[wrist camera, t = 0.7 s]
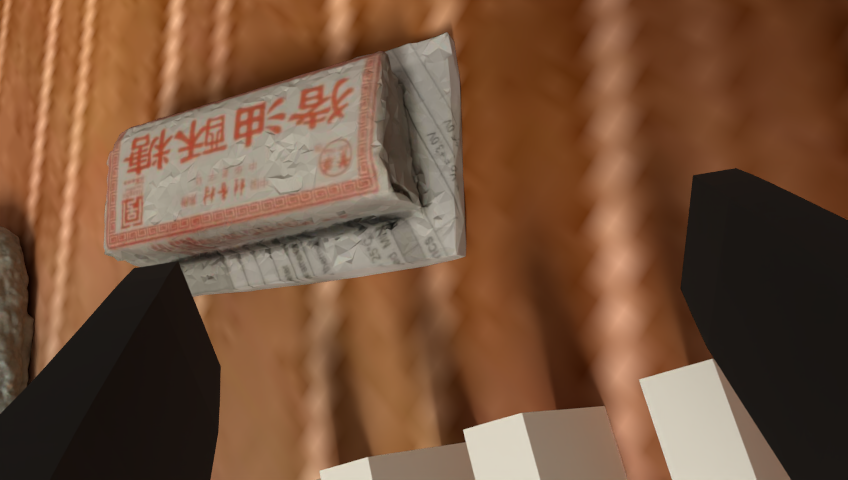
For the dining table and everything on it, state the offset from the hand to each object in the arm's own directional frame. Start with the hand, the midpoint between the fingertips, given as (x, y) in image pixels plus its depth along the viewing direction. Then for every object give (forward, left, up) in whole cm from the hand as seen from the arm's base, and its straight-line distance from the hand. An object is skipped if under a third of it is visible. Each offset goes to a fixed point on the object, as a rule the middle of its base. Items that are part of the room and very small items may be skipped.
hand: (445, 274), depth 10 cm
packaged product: (+18, +6, -18) cm, 26 cm away
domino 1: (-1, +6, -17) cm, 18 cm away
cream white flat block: (-4, +1, -17) cm, 18 cm away
